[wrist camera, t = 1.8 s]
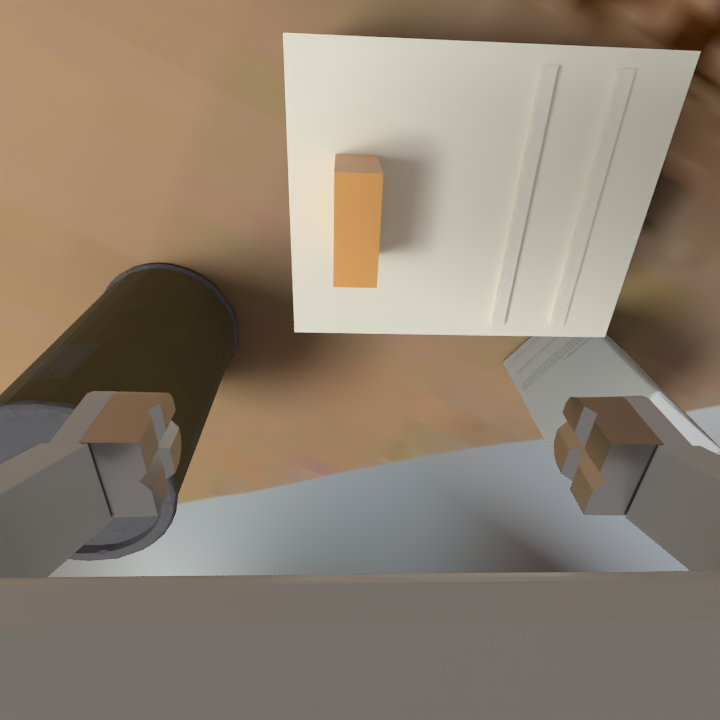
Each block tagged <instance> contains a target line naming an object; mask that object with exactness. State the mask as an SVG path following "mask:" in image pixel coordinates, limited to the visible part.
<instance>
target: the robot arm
mask: <svg viewBox="0 0 720 720" xmlns="http://www.w3.org/2000/svg"><path fill="white" fill-rule="evenodd" d="M175 410H176V409H175V405H174V401H173V397H172V396H171V395H170V394H169V393H158V392H123V391H119V392H116V391H92V392H90V393H87V394H86V395H85V397H84V398H83V399H82V401H81V402H80V403H79V404H78V406H77V407H76V408H75V410H74V411H73V412H72V414H71V415H70V416H69V417H68V419H67V420H66V421H65V423H64V424H63V425H62V427H61V428H60V429H59V431H58V432H57V433H56V434H55V436H54V437H53V438H52V440H51V441H50V442H49V443H40V444H38V445H36V446H34V447H32V448H31V449H29V450H27V451H25V452H23V453H21V454H19V455H17V456H15V457H13V458H11V459H9V460H8V461H6V462H4V463H2V464H0V720H720V455H718V454H716V453H714V452H712V451H710V450H708V449H706V448H704V447H702V446H692V445H691V443H690V442H689V441H688V440H687V439H686V438H685V437H684V436H683V435H682V434H681V433H680V432H679V431H678V429H677V428H676V427H675V426H674V425H673V424H672V423H671V422H670V421H669V420H668V419H667V418H666V416H665V415H664V414H663V413H662V412H661V411H660V410H659V409H658V408H657V407H656V406H655V405H654V404H653V402H652V401H651V400H650V399H649V398H646V397H644V396H642V395H640V396H617V397H570V398H569V399H568V400H567V402H566V404H565V407H564V410H563V415H564V416H565V418H566V420H567V422H565V423H564V424H563V425H562V426H561V427H560V428H558V429H557V432H556V436H555V440H554V456H555V460H556V463H557V466H558V468H559V470H560V472H561V473H562V474H563V475H565V476H566V477H568V478H569V479H571V480H572V481H573V482H572V485H571V488H570V490H571V492H572V494H573V496H574V498H575V499H576V501H577V503H578V505H579V507H580V509H581V510H582V512H583V514H586V515H626V518H627V519H628V520H629V521H630V522H632V523H633V524H634V525H635V526H636V527H638V528H639V529H640V530H641V531H643V532H644V533H645V534H646V535H647V536H649V537H650V538H651V539H652V540H654V541H655V542H656V543H657V544H658V545H660V546H661V547H662V548H663V549H665V550H666V551H667V552H668V553H669V554H671V555H672V556H673V557H674V558H676V559H677V560H678V561H679V562H680V563H682V564H683V565H684V566H685V567H687V568H688V569H689V570H690V571H666V572H664V571H661V572H660V571H659V572H658V571H657V572H560V573H558V572H555V573H554V572H551V573H440V574H439V573H438V574H437V573H435V574H348V575H347V574H344V575H343V574H340V575H244V576H141V577H49V578H48V576H49V575H50V574H51V573H53V572H54V571H55V570H56V569H57V568H58V567H59V566H60V565H62V564H63V563H64V562H65V561H66V560H67V559H68V558H70V557H71V556H72V555H73V554H74V553H75V552H76V551H77V550H79V549H80V548H81V547H82V546H83V545H84V544H85V543H87V542H88V541H89V540H90V539H91V538H92V537H93V536H94V535H96V534H97V533H98V532H99V531H100V530H101V529H102V528H104V527H105V526H106V525H107V524H108V523H109V522H110V521H111V520H112V517H144V516H158V515H159V512H160V510H161V507H162V505H163V502H164V500H165V497H166V495H167V492H168V485H167V479H168V478H169V477H171V476H172V475H173V474H175V472H176V470H177V467H178V464H179V460H180V454H181V435H180V430H179V427H178V426H177V425H176V424H175V423H174V422H173V421H171V419H172V417H173V415H174V413H175Z"/></svg>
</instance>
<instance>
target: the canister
mask: <svg viewBox="0 0 720 720" xmlns="http://www.w3.org/2000/svg"><path fill="white" fill-rule="evenodd" d="M237 341H238V328H237V323H236V319H235V315H234V312H233V310H232V309H231V307H230V305H229V304H228V302H227V300H226V299H225V298H224V297H223V295H222V294H221V293H220V292H219V291H218V290H217V289H216V288H215V286H214V285H213V284H212V283H210V282H209V281H207V280H206V279H204V278H203V277H202V276H200V275H198V274H196V273H194V272H193V271H191V270H188V269H185V268H182V267H178V266H175V265H167V264H159V263H154V264H144V265H140V266H137V267H133V268H131V269H129V270H127V271H125V272H123V273H122V274H120V275H118V276H117V277H116V278H115V279H114V280H113V281H112V282H111V283H110V284H109V286H108V287H107V289H106V290H105V292H104V294H103V295H102V296H101V297H100V298H99V299H98V300H97V301H96V302H95V303H94V304H93V305H92V306H91V307H90V308H89V309H88V310H87V311H86V312H85V313H83V314H82V315H81V316H80V317H79V318H78V319H77V320H76V321H75V322H74V323H73V324H72V325H71V326H70V327H69V328H68V329H67V330H66V331H65V332H64V333H63V334H62V335H61V336H60V337H59V338H58V339H57V340H56V341H55V342H54V343H53V344H52V345H51V346H50V347H49V348H48V349H47V350H46V351H45V352H44V353H43V354H42V355H41V356H40V357H39V358H38V359H37V360H36V361H35V362H34V363H33V364H32V365H31V366H30V367H29V368H28V369H26V370H25V371H24V372H23V373H22V374H21V375H20V376H19V377H18V378H17V379H16V380H15V381H14V382H13V383H12V384H11V385H10V386H9V387H8V388H7V389H6V390H5V391H4V392H3V393H2V394H1V395H0V464H2V463H4V462H6V461H8V460H9V459H11V458H13V457H15V456H17V455H19V454H21V453H23V452H25V451H27V450H29V449H31V448H32V447H34V446H36V445H38V444H40V443H49V442H50V441H51V440H52V438H53V437H54V436H55V434H56V433H57V432H58V431H59V429H60V428H61V427H62V425H63V424H64V423H65V421H66V420H67V419H68V417H69V416H70V415H71V414H72V412H73V411H74V410H75V408H76V407H77V406H78V404H79V403H80V402H81V401H82V399H83V398H84V397H85V395H86V394H87V393H90V392H92V391H116V392H119V391H123V392H158V393H169V394H170V395H171V396H172V397H173V401H174V405H175V409H176V410H175V413H174V415H173V417H172V419H171V421H173V422H174V423H175V424H176V425H177V426H178V427H179V430H180V435H181V454H180V460H179V464H178V467H177V470H176V472H175V474H173V475H172V476H171V477H169V478H168V479H167V485H168V492H167V495H166V497H165V500H164V502H163V505H162V507H161V510H160V512H159V515H158V516H144V517H112V520H111V521H110V522H109V523H108V524H107V525H106V526H105V527H104V528H102V529H101V530H100V531H99V532H98V533H97V534H96V535H94V536H93V537H92V538H91V539H90V540H89V541H88V542H87V543H85V544H84V545H83V546H82V547H81V548H80V549H79V550H77V551H76V552H75V553H74V554H73V555H72V556H71V557H70V558H68V559H73V560H87V561H91V560H104V559H117V558H120V557H123V556H126V555H129V554H132V553H135V552H137V551H140V550H143V549H145V548H146V547H148V546H150V545H151V544H153V543H154V542H155V541H156V540H157V539H159V538H160V537H161V536H162V535H164V533H165V532H166V530H167V529H168V528H169V526H170V525H171V523H172V521H173V518H174V516H175V513H176V509H177V499H178V493H179V491H180V488H181V485H182V483H183V480H184V477H185V475H186V472H187V470H188V467H189V464H190V462H191V459H192V456H193V454H194V451H195V448H196V446H197V443H198V440H199V438H200V435H201V432H202V430H203V427H204V425H205V422H206V419H207V417H208V414H209V411H210V409H211V406H212V403H213V401H214V398H215V395H216V393H217V390H218V387H219V385H220V382H221V379H222V377H223V374H224V372H225V369H226V366H227V364H228V363H229V362H230V360H231V358H232V356H233V355H234V352H235V349H236V346H237Z"/></svg>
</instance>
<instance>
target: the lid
mask: <svg viewBox="0 0 720 720" xmlns="http://www.w3.org/2000/svg"><path fill="white" fill-rule="evenodd" d="M283 47H284V74H285V100H286V126H287V152H288V178H289V205H290V231H291V257H292V283H293V309H294V332H304V333H366V334H428V335H490V336H552V337H605V336H606V333H607V330H608V327H609V324H610V321H611V318H612V315H613V312H614V309H615V306H616V303H617V300H618V297H619V294H620V291H621V288H622V285H623V282H624V279H625V276H626V273H627V270H628V267H629V264H630V261H631V258H632V255H633V252H634V249H635V246H636V243H637V240H638V237H639V234H640V231H641V228H642V225H643V222H644V219H645V216H646V213H647V211H648V208H649V205H650V202H651V199H652V196H653V193H654V190H655V187H656V184H657V181H658V178H659V175H660V172H661V169H662V166H663V163H664V160H665V157H666V154H667V151H668V148H669V145H670V142H671V139H672V136H673V133H674V130H675V127H676V124H677V121H678V118H679V115H680V112H681V109H682V106H683V103H684V100H685V97H686V94H687V91H688V88H689V85H690V82H691V79H692V76H693V73H694V70H695V67H696V64H697V61H698V58H699V55H700V52H701V51H686V50H663V49H641V48H618V47H595V46H572V45H550V44H527V43H504V42H481V41H459V40H436V39H413V38H390V37H368V36H345V35H322V34H300V33H283Z"/></svg>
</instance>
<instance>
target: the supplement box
mask: <svg viewBox="0 0 720 720" xmlns="http://www.w3.org/2000/svg"><path fill="white" fill-rule="evenodd" d="M503 364H504V366H505V368H506V370H507V371H508V373H509V375H510V377H511V379H512V381H513V382H514V384H515V386H516V388H517V390H518V392H519V393H520V395H521V397H522V399H523V401H524V403H525V404H526V406H527V408H528V410H529V412H530V414H531V415H532V417H533V419H534V421H535V423H536V425H537V426H538V428H539V430H540V432H541V434H542V436H543V437H544V439H545V441H546V443H547V445H548V447H549V448H550V450H551V452H552V454H553V456H554V440H555V436H556V432H557V429H558V428H560V427H561V426H562V425H563V424H564V423H565V422H567V420H566V418H565V416H564V415H563V410H564V407H565V404H566V402H567V400H568V399H569V398H570V397H617V396H640V395H642V396H644V397H646V398H649V399H650V400H651V401H652V402H653V404H654V405H655V406H656V407H657V408H658V409H659V410H660V411H661V412H662V413H663V414H664V415H665V416H666V418H667V419H668V420H669V421H670V422H671V423H672V424H673V425H674V426H675V427H676V428H677V429H678V431H679V432H680V433H681V434H682V435H683V436H684V437H685V438H686V439H687V440H688V441H689V442H690V443H691V445H692V446H702V447H704V448H706V449H708V450H710V451H712V452H714V453H717V452H719V451H720V447H719V446H718V445H717V444H716V443H715V442H714V441H713V440H712V439H711V438H710V437H709V436H708V435H707V434H706V433H705V432H704V431H703V430H702V429H701V428H700V427H699V426H698V425H697V424H696V423H695V422H694V421H693V420H692V419H691V418H690V417H689V416H688V415H687V414H686V413H685V412H684V411H683V410H682V409H681V408H680V407H679V406H678V405H677V404H676V403H675V402H674V401H673V400H672V399H671V398H670V397H669V396H668V395H667V394H666V393H665V392H664V391H663V390H662V389H661V388H660V387H659V386H658V385H657V384H656V383H655V382H654V381H653V380H652V379H651V378H650V377H649V376H648V375H647V374H646V373H645V371H644V370H643V369H642V368H641V367H640V366H639V365H638V364H637V363H636V362H635V361H634V360H633V359H632V358H631V357H630V356H629V355H628V354H627V353H626V352H625V351H624V350H623V349H622V348H621V347H619V346H618V345H617V344H616V343H615V342H614V341H613V340H612V339H611V338H610V337H609V336H608V335H606V336H605V337H552V336H531V337H530V338H529V339H528V340H526V341H525V342H524V343H523V344H522V345H521V346H520V347H519V348H518V349H517V350H515V351H514V352H513V353H512V354H511V355H510V356H509V357H508V358H507V359H505V360H504V361H503ZM554 458H555V456H554Z"/></svg>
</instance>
